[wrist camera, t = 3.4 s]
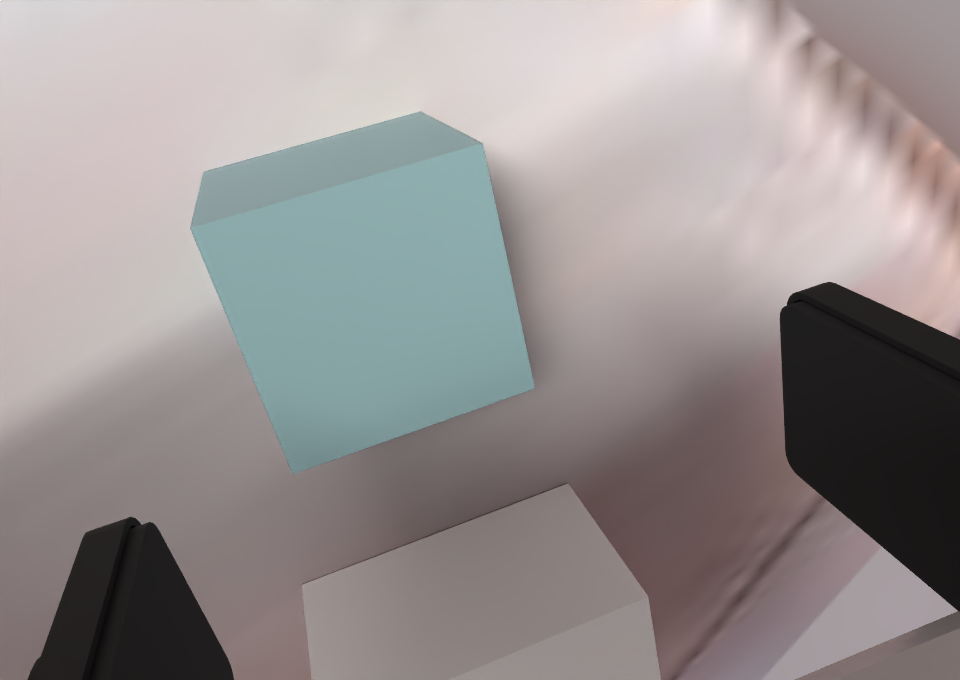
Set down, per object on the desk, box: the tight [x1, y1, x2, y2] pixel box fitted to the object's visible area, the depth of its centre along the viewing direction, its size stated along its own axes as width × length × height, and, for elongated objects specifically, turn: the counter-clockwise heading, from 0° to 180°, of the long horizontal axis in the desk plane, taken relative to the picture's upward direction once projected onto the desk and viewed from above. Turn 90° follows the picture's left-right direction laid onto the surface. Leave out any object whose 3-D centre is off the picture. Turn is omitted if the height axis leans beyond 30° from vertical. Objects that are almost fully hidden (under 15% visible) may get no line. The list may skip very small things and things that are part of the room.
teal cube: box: [190, 111, 535, 474], centre depth 19 cm, size 6×6×6 cm
